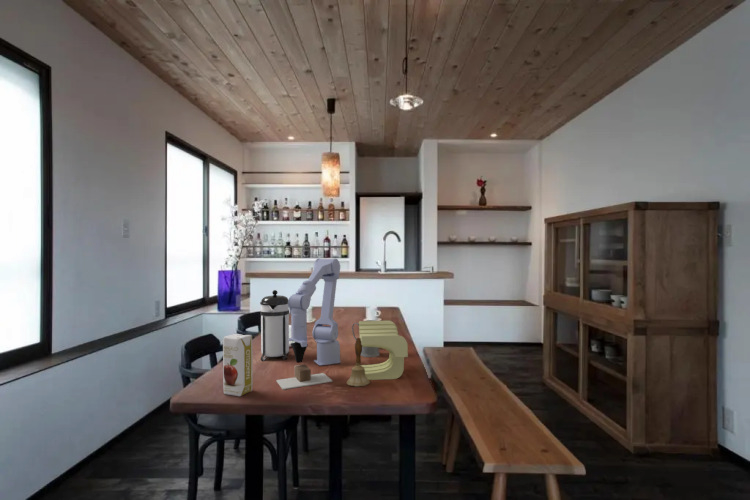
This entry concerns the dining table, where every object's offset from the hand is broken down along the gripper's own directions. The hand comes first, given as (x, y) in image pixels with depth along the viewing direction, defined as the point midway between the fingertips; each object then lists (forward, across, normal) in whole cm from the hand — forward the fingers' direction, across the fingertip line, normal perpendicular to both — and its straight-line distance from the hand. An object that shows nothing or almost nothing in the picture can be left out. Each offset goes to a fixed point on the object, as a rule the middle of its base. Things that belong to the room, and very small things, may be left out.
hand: (299, 362), depth 149 cm
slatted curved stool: (+6, +12, +29) cm, 32 cm away
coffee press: (+6, -33, -2) cm, 34 cm away
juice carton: (+6, +7, -23) cm, 25 cm away
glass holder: (+6, -18, +36) cm, 41 cm away
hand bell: (+6, +17, +17) cm, 24 cm away
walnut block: (+3, +1, 0) cm, 3 cm away
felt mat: (+5, +6, 0) cm, 8 cm away
